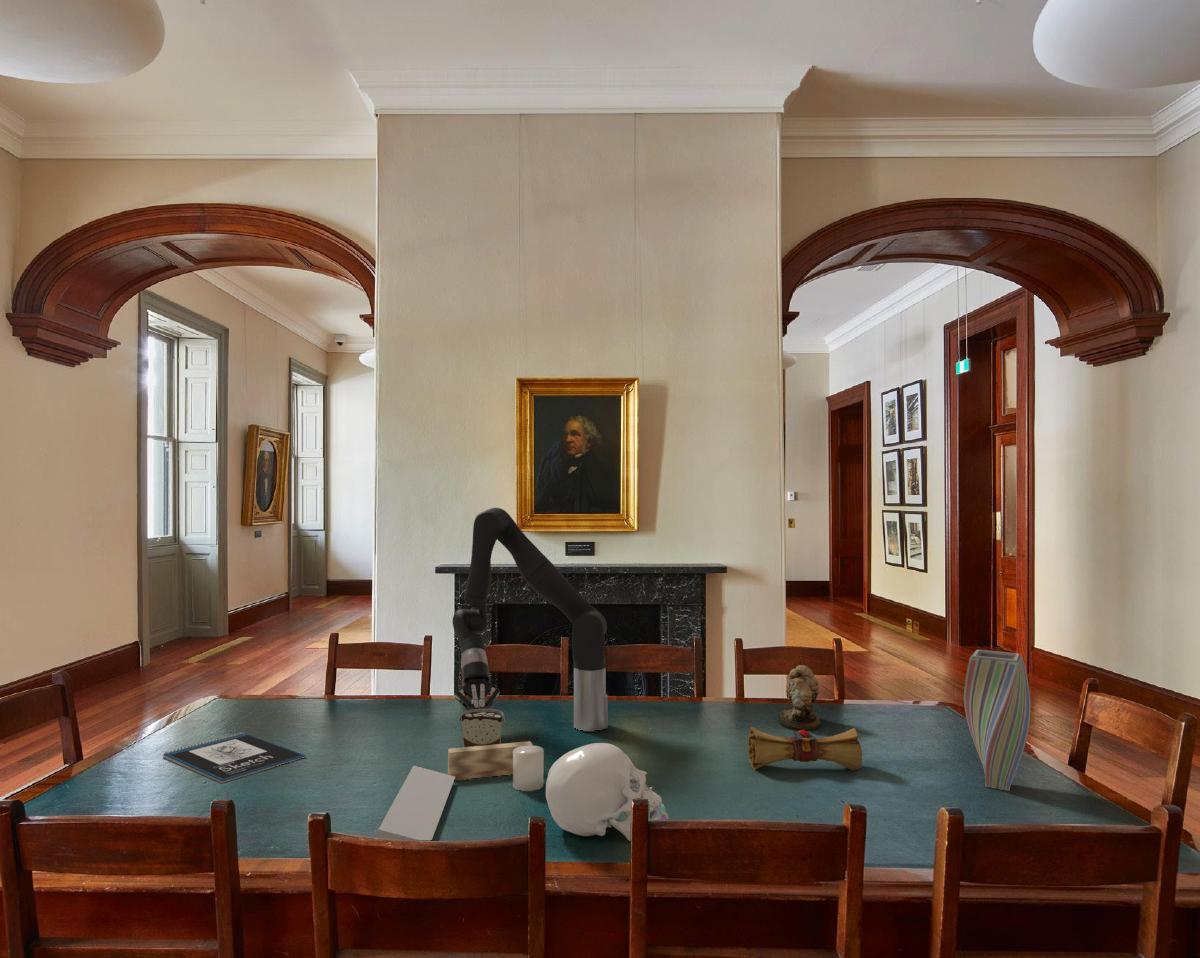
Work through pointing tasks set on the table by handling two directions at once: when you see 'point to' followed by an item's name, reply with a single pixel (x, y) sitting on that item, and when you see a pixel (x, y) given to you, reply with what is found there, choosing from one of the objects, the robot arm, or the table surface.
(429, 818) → the grey long flat block
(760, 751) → the scroll
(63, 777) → the table surface
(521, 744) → the light wooden block
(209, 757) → the sketchbook
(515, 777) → the glossy white cylinder
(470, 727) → the food container
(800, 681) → the stone bust statue
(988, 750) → the vase
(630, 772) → the white human skull
